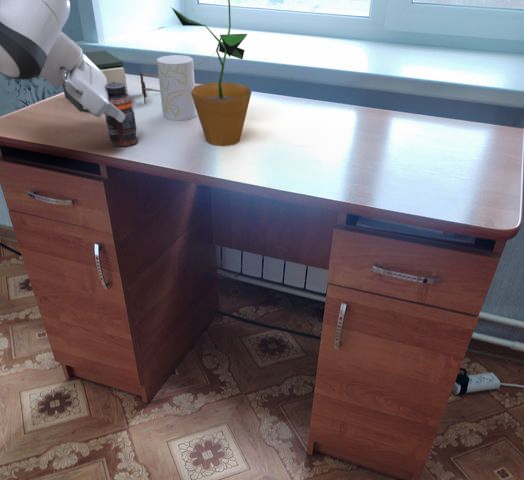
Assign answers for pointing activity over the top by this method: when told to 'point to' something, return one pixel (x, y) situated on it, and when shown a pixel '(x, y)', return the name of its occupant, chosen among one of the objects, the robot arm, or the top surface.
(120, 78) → the drawer
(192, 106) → the cup
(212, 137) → the potted plant
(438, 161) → the top surface
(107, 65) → the cabinet
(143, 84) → the sunglasses
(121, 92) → the supplement bottle
